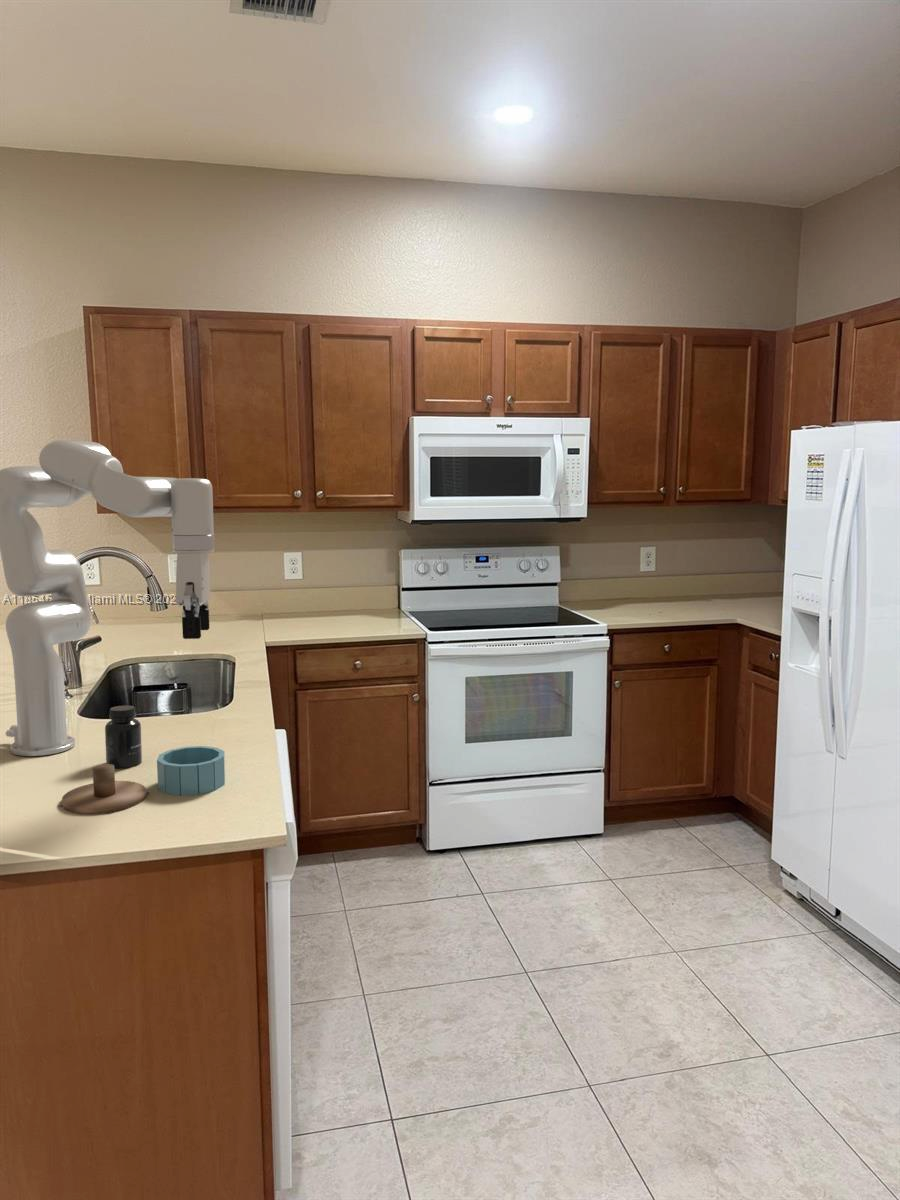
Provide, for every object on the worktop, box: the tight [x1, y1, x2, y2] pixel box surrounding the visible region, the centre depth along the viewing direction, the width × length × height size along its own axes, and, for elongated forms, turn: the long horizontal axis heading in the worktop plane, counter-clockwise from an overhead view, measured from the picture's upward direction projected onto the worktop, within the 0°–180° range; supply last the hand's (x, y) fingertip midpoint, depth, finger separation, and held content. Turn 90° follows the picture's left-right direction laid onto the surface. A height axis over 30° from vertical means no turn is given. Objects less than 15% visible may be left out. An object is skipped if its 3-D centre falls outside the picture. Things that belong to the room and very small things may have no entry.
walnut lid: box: [61, 763, 147, 815], centre depth 154 cm, size 14×14×6 cm
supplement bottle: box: [104, 705, 143, 770], centre depth 173 cm, size 7×7×12 cm
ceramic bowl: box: [156, 745, 226, 797], centre depth 162 cm, size 12×12×6 cm
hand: (196, 634), depth 164 cm, fingers open, 9 cm apart
